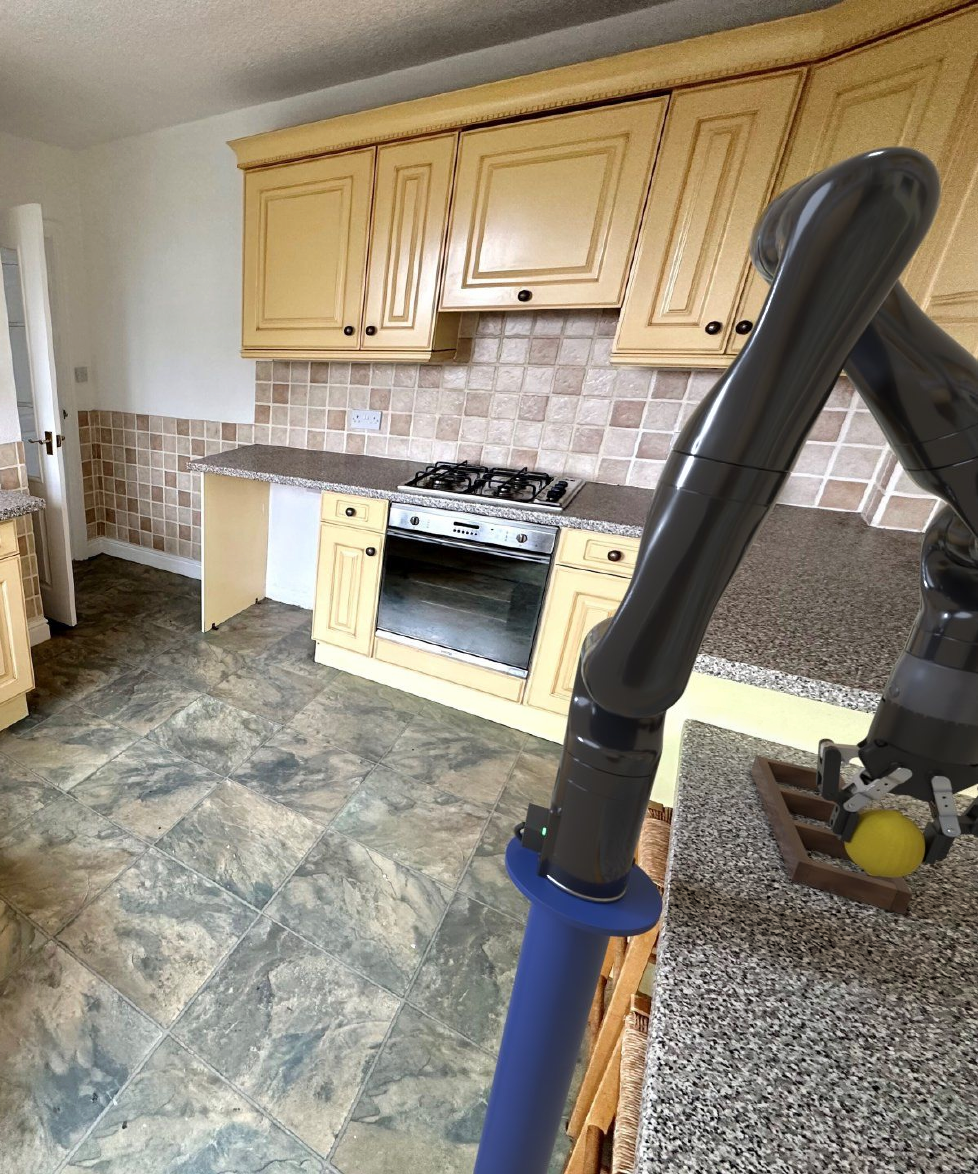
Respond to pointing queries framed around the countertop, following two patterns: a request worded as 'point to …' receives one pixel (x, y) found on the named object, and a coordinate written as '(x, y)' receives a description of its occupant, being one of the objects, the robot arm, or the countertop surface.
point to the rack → (817, 837)
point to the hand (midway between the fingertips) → (881, 847)
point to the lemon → (886, 843)
